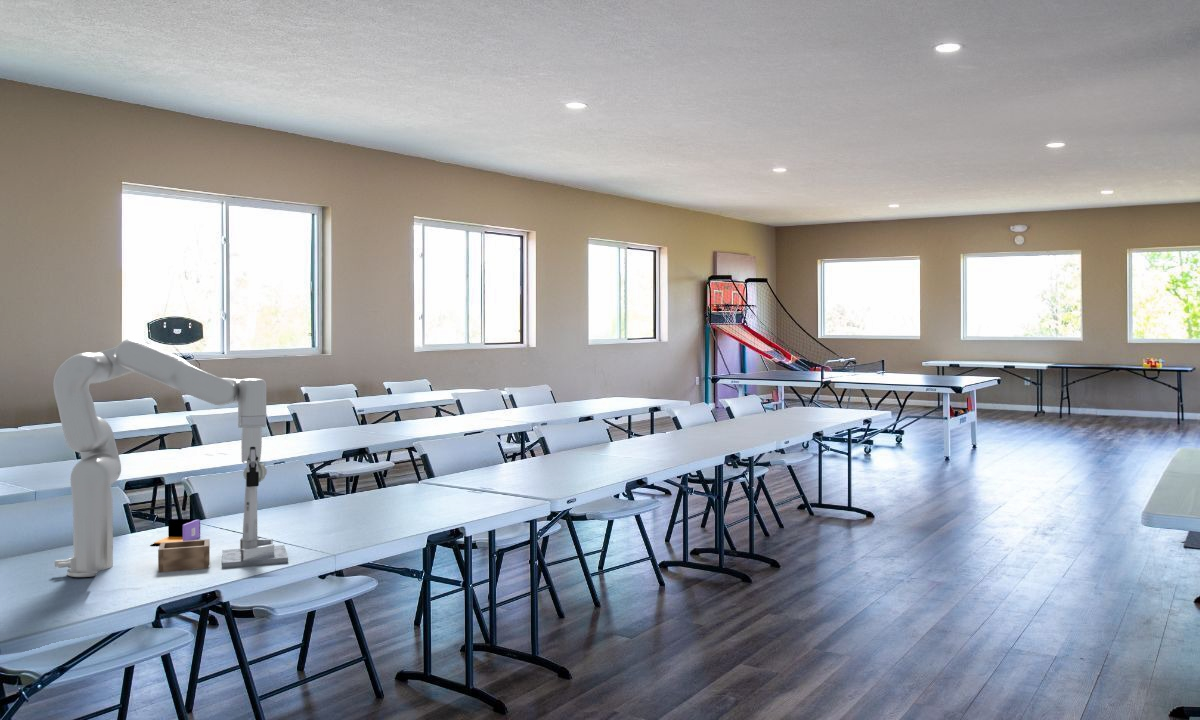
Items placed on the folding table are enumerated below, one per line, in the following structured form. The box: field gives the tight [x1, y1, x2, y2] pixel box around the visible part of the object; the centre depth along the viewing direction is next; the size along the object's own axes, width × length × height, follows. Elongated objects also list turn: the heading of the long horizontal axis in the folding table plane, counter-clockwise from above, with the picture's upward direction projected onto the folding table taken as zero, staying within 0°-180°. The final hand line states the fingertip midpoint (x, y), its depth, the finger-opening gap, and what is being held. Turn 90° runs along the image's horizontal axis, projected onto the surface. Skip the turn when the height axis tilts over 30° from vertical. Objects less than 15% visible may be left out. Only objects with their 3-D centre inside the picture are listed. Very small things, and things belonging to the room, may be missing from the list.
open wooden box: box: [157, 538, 211, 573], centre depth 248 cm, size 12×10×6 cm
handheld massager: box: [240, 461, 268, 549], centre depth 256 cm, size 5×7×25 cm
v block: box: [221, 538, 289, 569], centre depth 257 cm, size 17×18×4 cm
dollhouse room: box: [149, 518, 201, 547], centre depth 280 cm, size 12×12×7 cm
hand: (252, 484), depth 257 cm, fingers closed on handheld massager, 6 cm apart
